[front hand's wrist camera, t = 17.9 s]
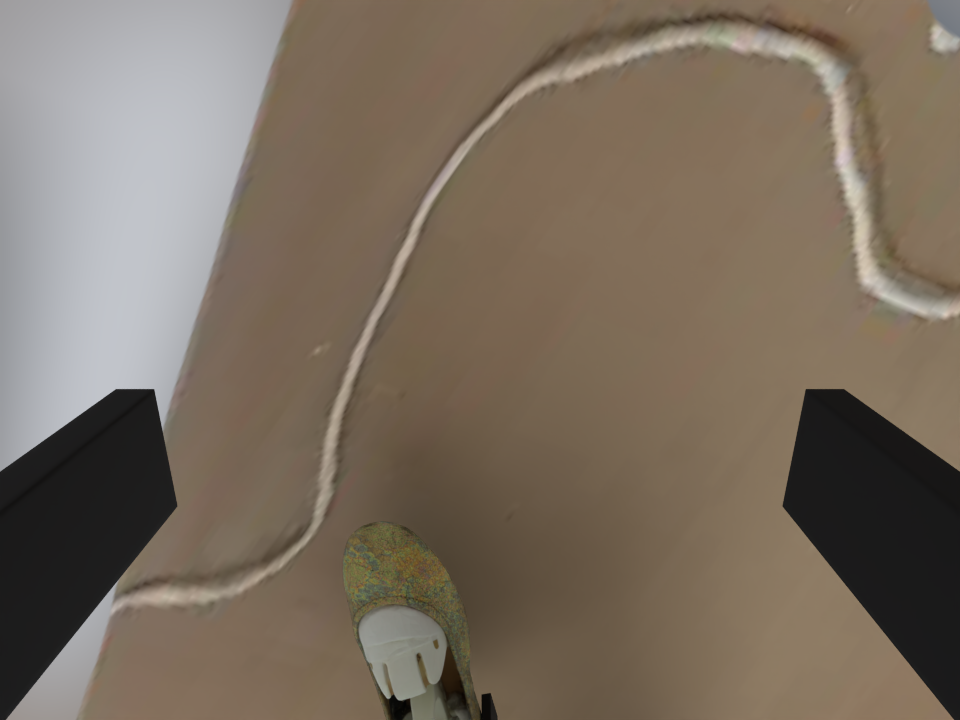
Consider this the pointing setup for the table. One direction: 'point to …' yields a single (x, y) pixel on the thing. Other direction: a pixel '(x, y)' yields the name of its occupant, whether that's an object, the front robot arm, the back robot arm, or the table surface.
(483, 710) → the back robot arm
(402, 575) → the ballet flat
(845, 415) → the front robot arm
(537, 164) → the table surface
